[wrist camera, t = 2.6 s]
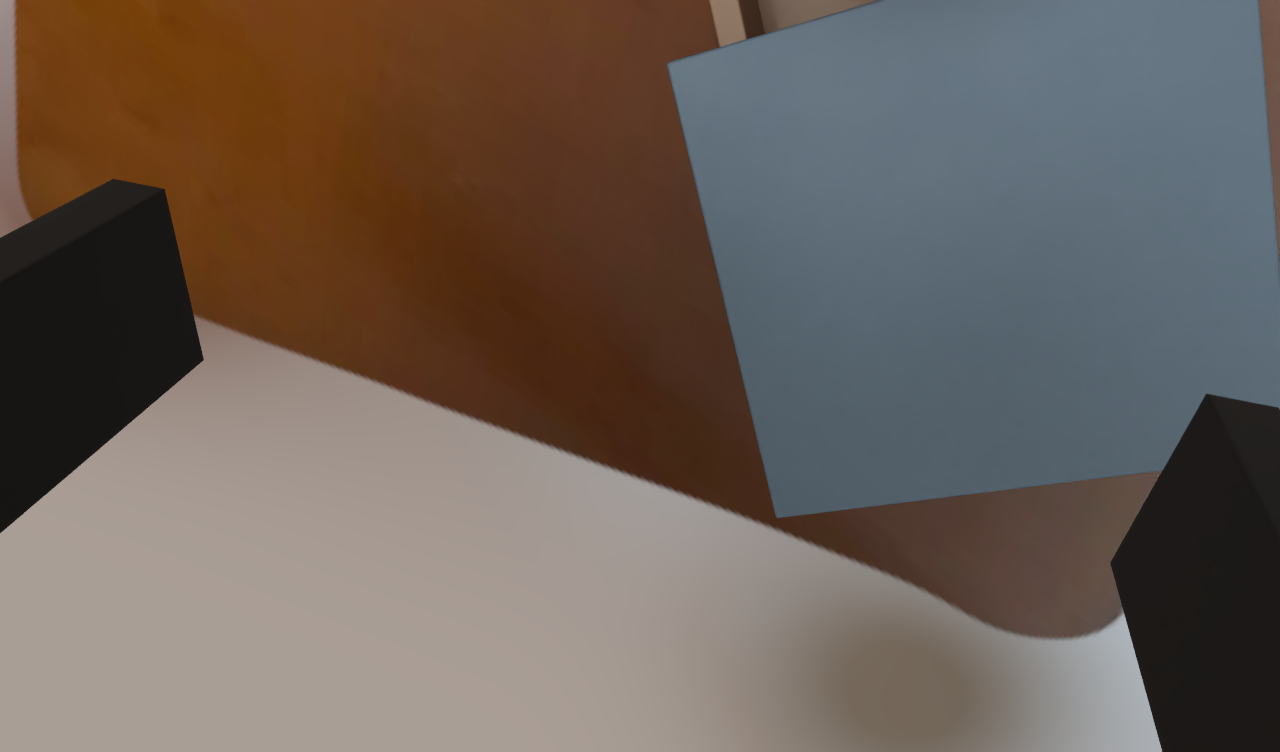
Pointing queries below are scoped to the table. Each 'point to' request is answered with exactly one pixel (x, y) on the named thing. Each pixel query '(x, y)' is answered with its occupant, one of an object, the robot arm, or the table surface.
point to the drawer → (769, 15)
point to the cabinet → (987, 238)
